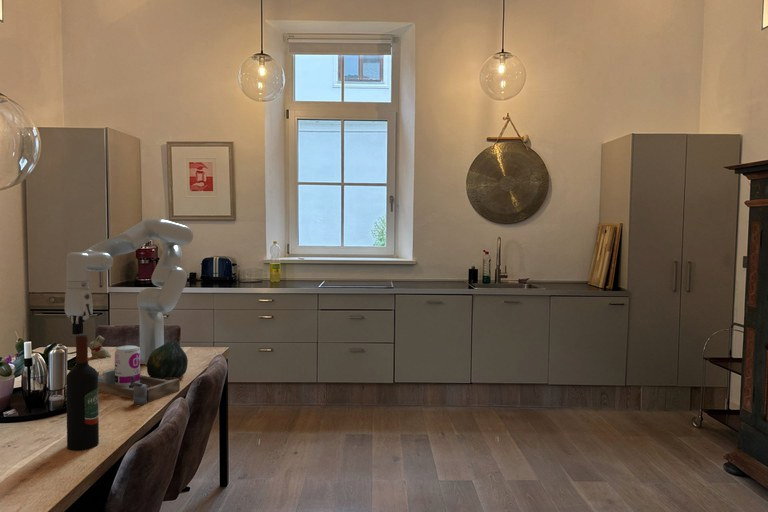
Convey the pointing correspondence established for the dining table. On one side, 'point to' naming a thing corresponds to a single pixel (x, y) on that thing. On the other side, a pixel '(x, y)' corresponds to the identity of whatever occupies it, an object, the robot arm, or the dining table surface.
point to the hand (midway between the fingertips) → (77, 333)
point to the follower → (107, 377)
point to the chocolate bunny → (98, 348)
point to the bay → (142, 389)
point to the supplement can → (127, 365)
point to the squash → (167, 361)
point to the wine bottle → (82, 401)
